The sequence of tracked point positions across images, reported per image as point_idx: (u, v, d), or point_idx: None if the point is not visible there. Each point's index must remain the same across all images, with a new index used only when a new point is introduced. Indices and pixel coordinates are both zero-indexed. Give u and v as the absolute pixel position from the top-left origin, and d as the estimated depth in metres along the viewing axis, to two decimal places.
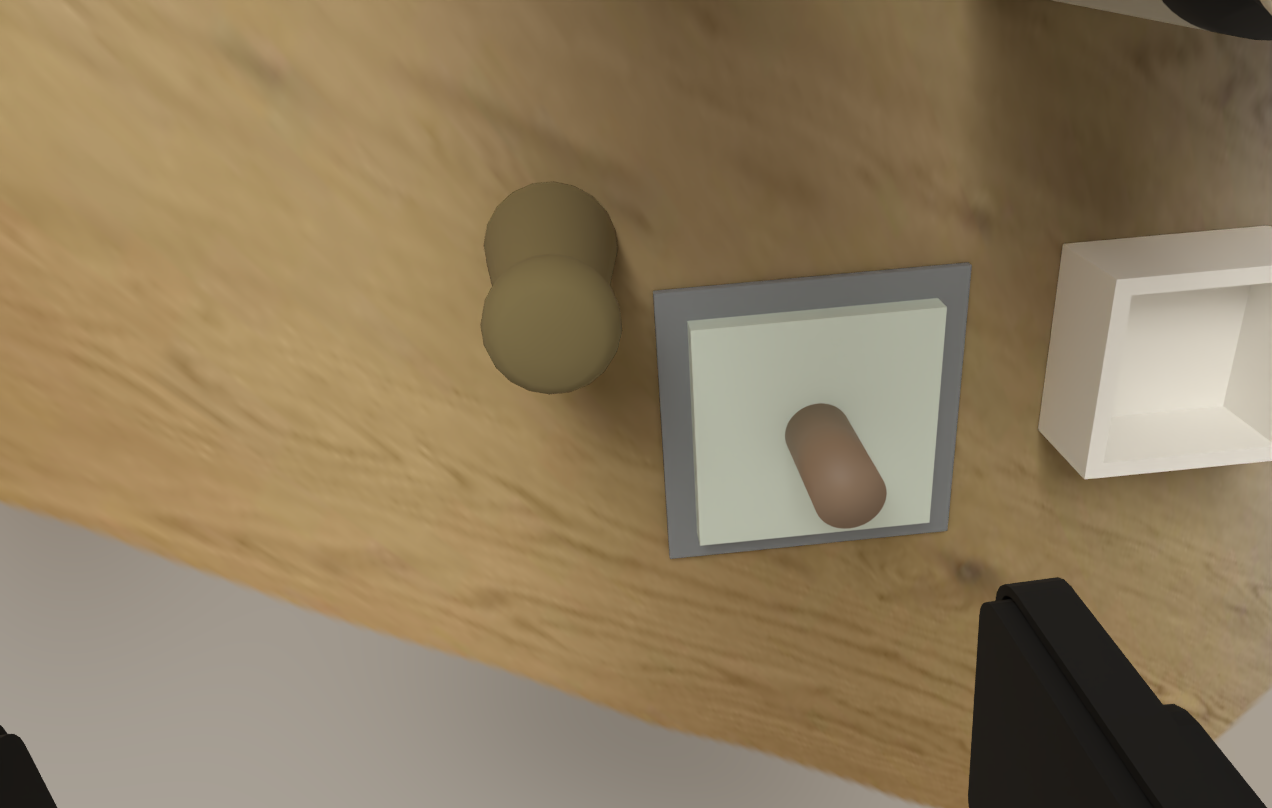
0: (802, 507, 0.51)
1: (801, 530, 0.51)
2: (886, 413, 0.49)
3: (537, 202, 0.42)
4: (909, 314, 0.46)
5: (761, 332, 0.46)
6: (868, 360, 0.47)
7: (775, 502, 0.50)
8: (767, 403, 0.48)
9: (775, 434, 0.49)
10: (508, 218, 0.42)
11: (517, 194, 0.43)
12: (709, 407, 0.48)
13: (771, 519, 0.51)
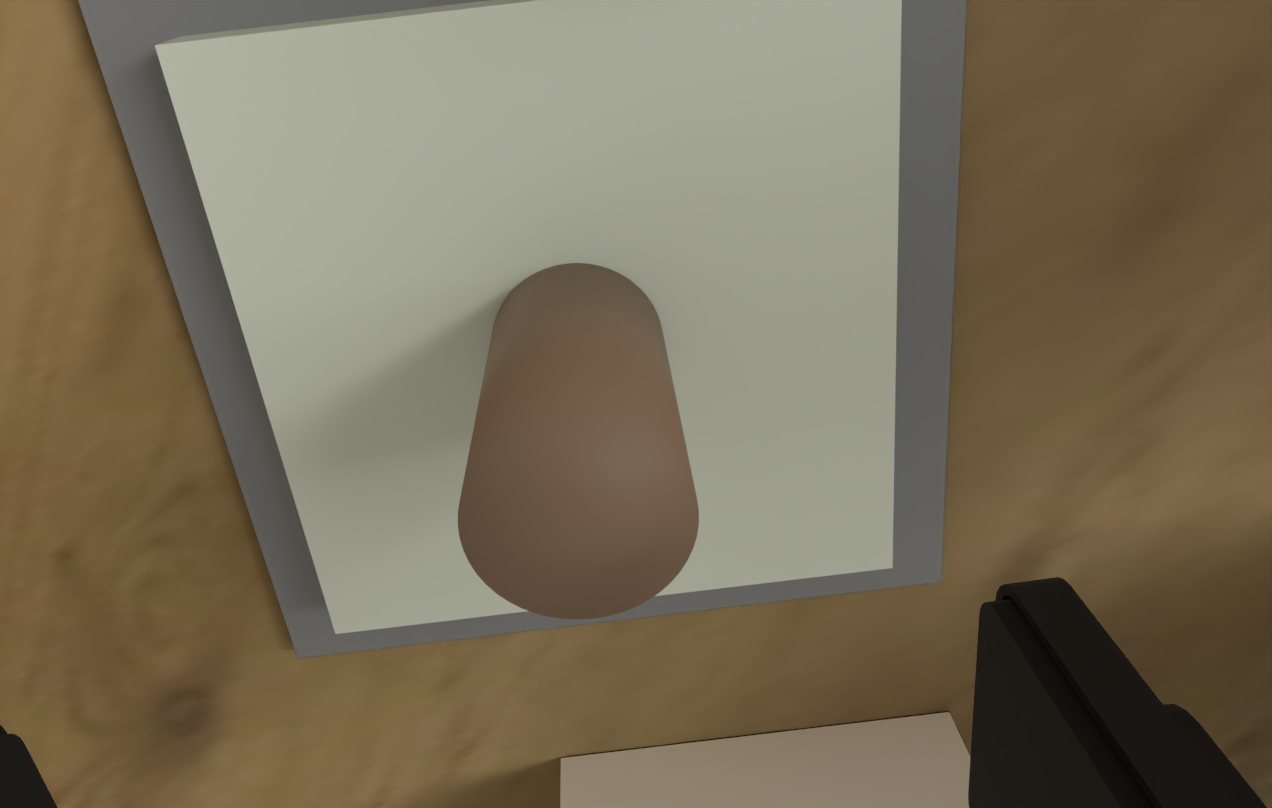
0: (341, 338, 0.18)
1: (265, 343, 0.18)
2: None
3: None
4: (884, 499, 0.20)
5: (875, 165, 0.17)
6: (776, 434, 0.20)
7: (348, 263, 0.18)
8: (666, 205, 0.17)
9: (567, 238, 0.18)
10: None
11: None
12: (653, 38, 0.16)
13: (288, 259, 0.18)
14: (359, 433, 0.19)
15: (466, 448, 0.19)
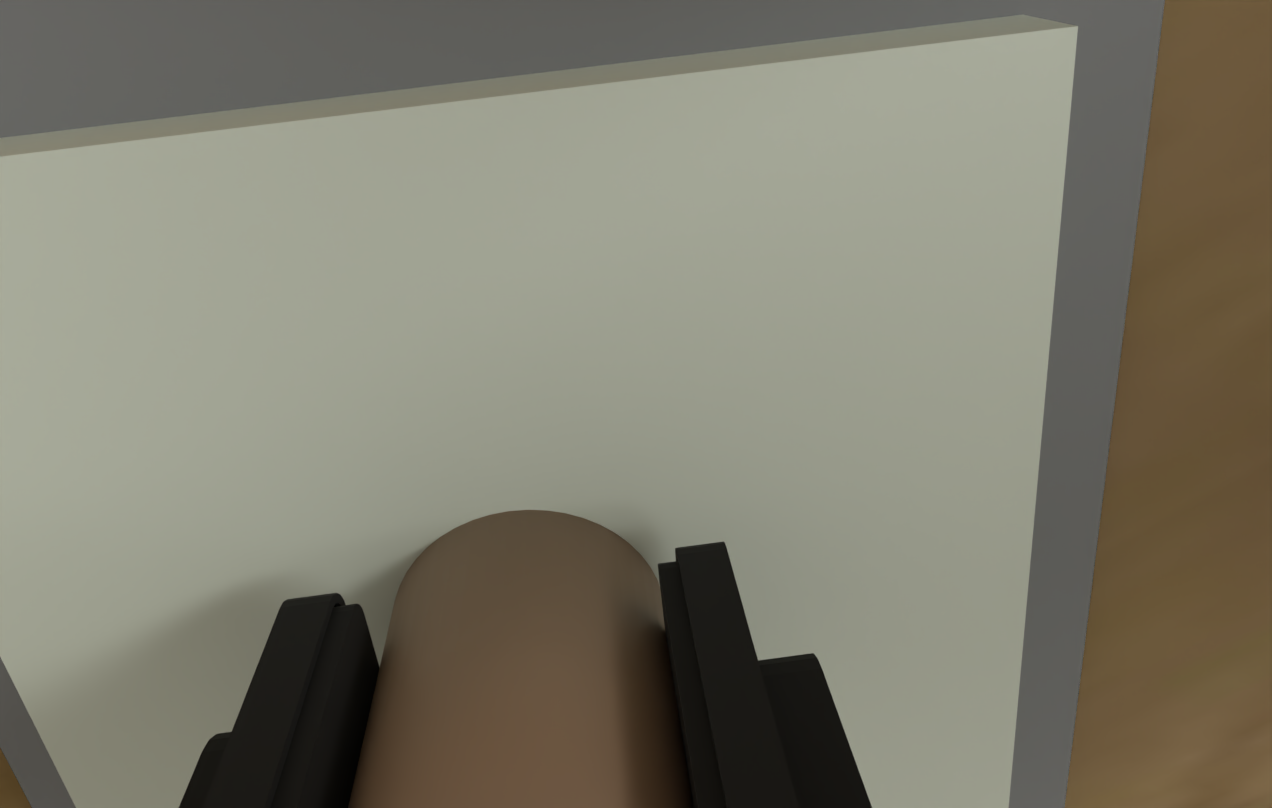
0: (147, 627, 0.11)
1: (22, 639, 0.11)
2: None
3: None
4: None
5: (1011, 356, 0.11)
6: None
7: (149, 520, 0.11)
8: (670, 423, 0.11)
9: (510, 474, 0.11)
10: None
11: None
12: (649, 162, 0.09)
13: (46, 517, 0.11)
14: (190, 756, 0.12)
15: None
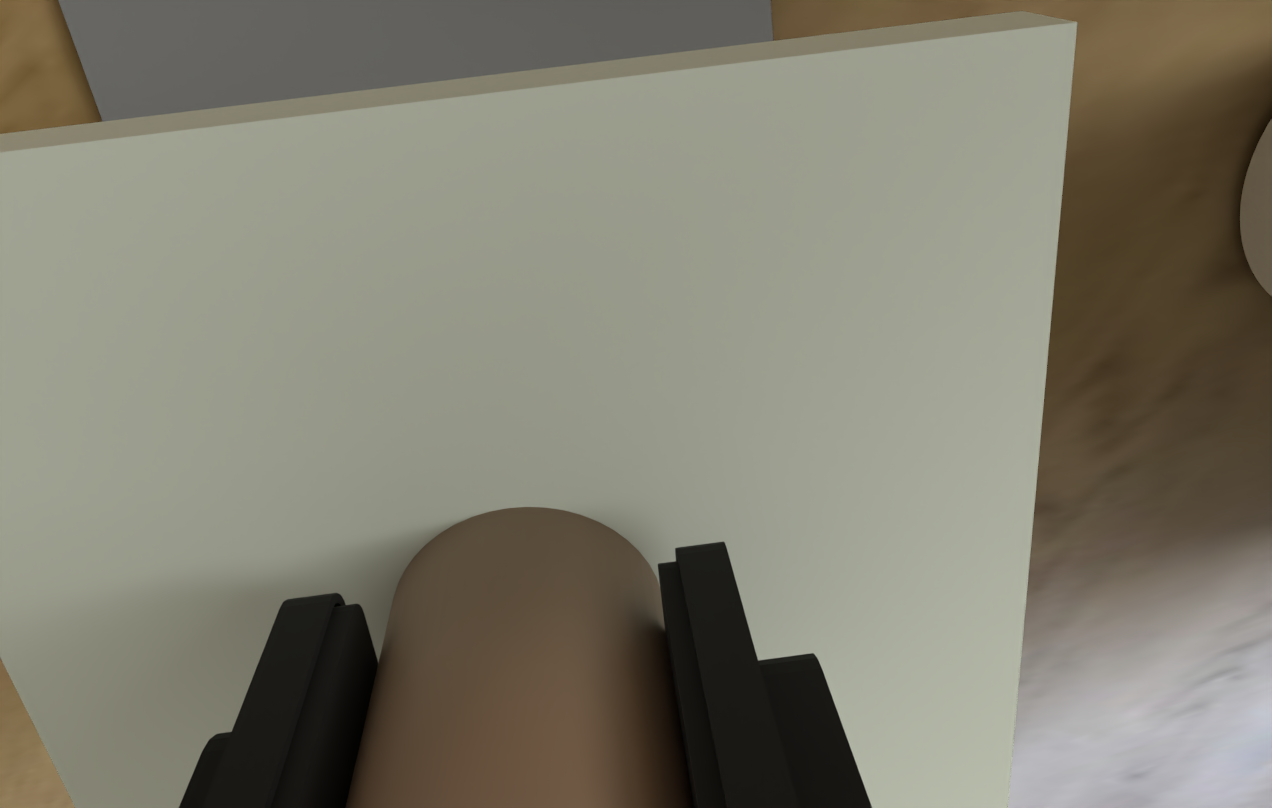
0: (146, 624, 0.11)
1: (22, 637, 0.11)
2: None
3: None
4: None
5: (1010, 352, 0.11)
6: None
7: (147, 517, 0.11)
8: (669, 419, 0.11)
9: (509, 471, 0.11)
10: None
11: None
12: (647, 157, 0.09)
13: (45, 514, 0.11)
14: (189, 754, 0.12)
15: None
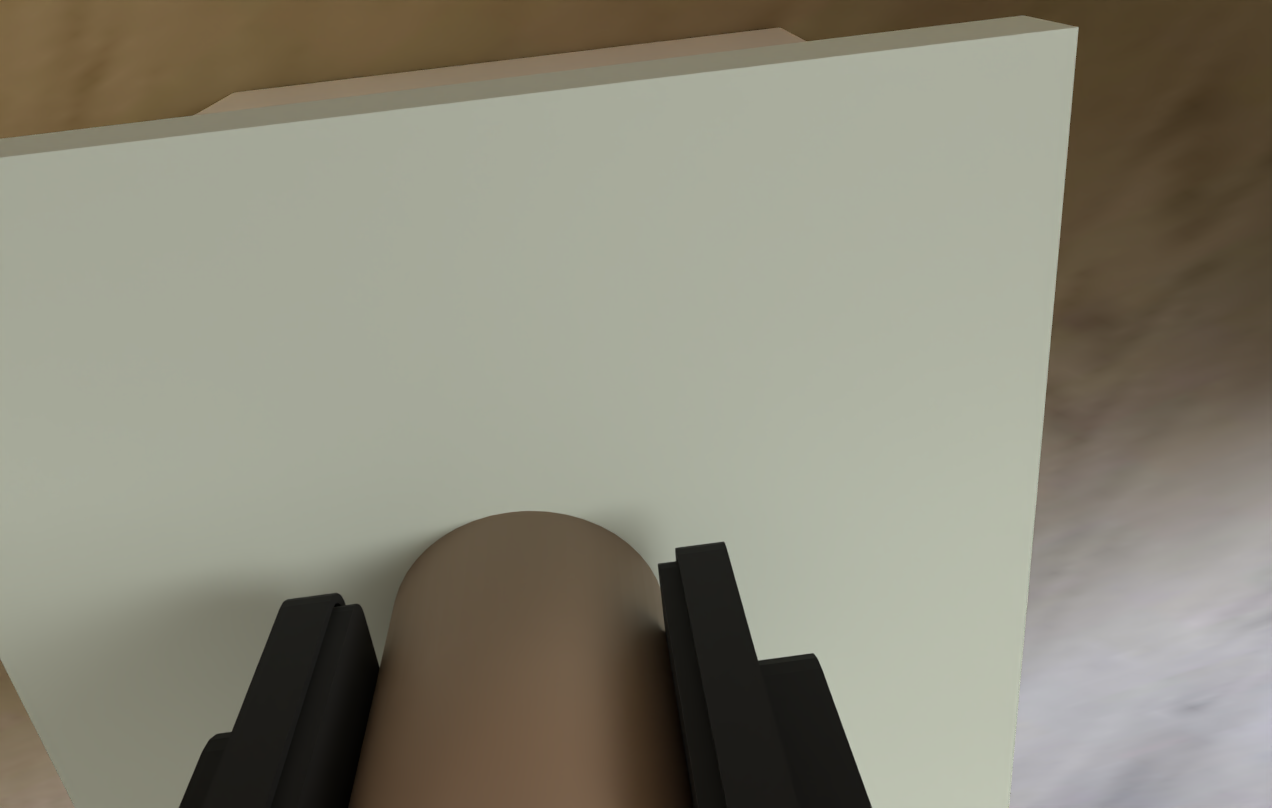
0: (147, 628, 0.11)
1: (23, 640, 0.11)
2: None
3: None
4: None
5: (1011, 357, 0.11)
6: None
7: (148, 521, 0.11)
8: (670, 423, 0.11)
9: (510, 475, 0.11)
10: None
11: None
12: (649, 163, 0.09)
13: (46, 517, 0.11)
14: (190, 757, 0.12)
15: None
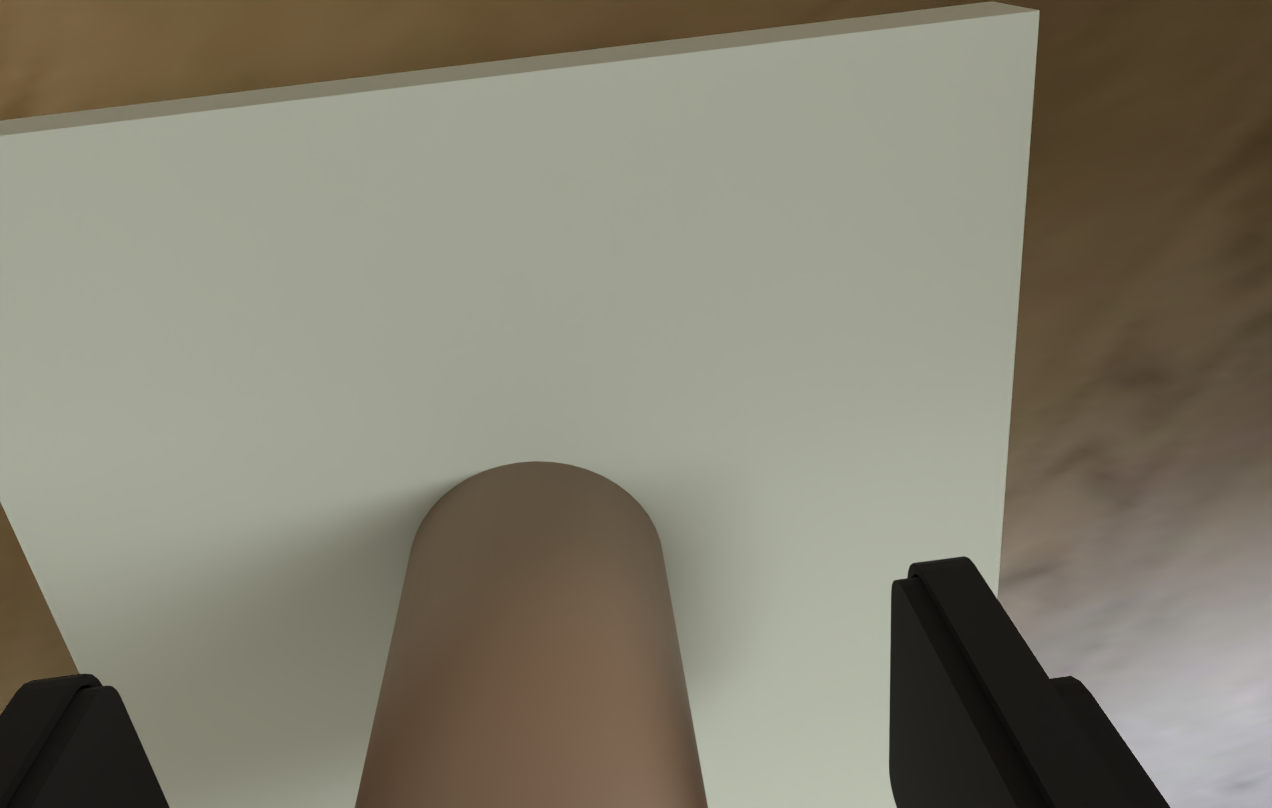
0: (182, 571, 0.12)
1: (66, 582, 0.12)
2: None
3: None
4: None
5: (982, 317, 0.12)
6: (825, 677, 0.14)
7: (185, 469, 0.12)
8: (667, 379, 0.12)
9: (520, 427, 0.12)
10: None
11: None
12: (647, 135, 0.10)
13: (91, 466, 0.11)
14: (219, 696, 0.13)
15: None
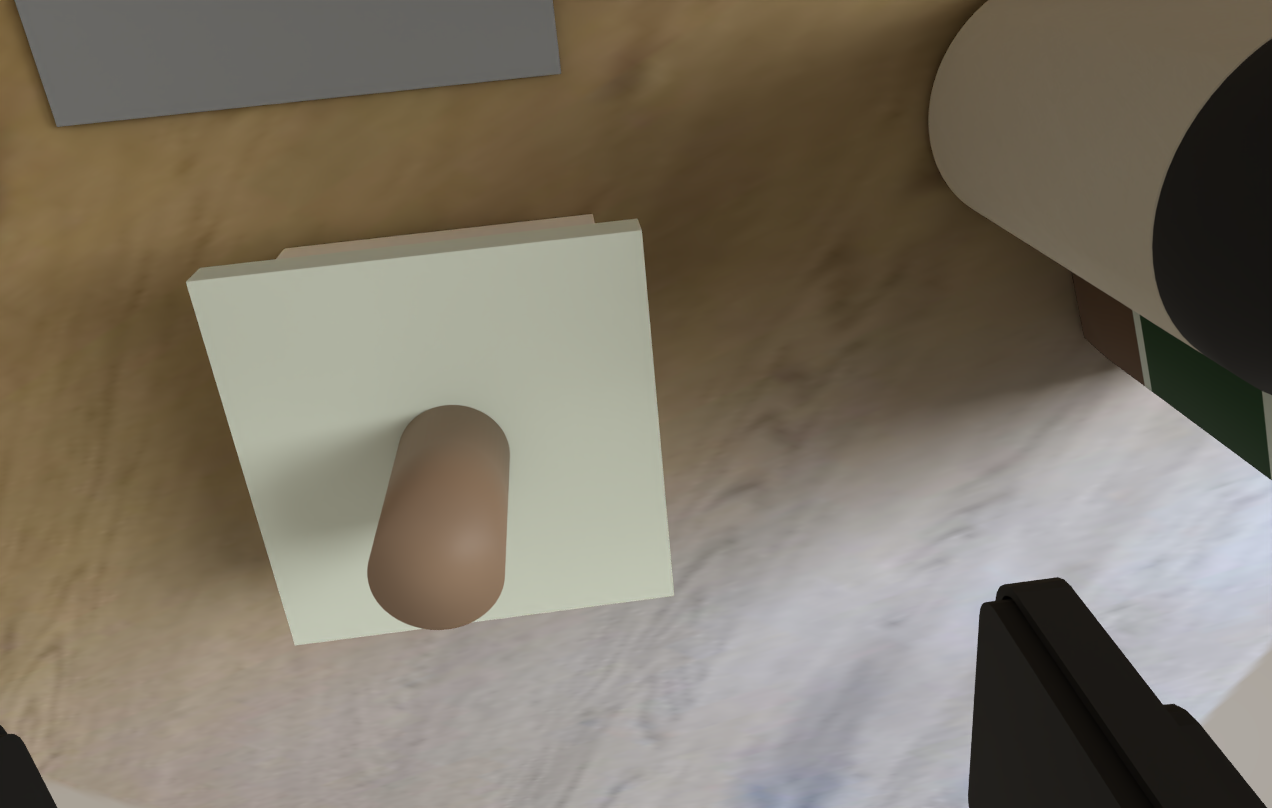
0: (300, 451, 0.28)
1: (250, 456, 0.28)
2: None
3: None
4: (664, 550, 0.31)
5: (637, 345, 0.28)
6: (588, 509, 0.30)
7: (305, 406, 0.28)
8: (506, 370, 0.28)
9: (445, 390, 0.28)
10: None
11: None
12: (493, 275, 0.27)
13: (266, 404, 0.28)
14: (312, 511, 0.29)
15: None
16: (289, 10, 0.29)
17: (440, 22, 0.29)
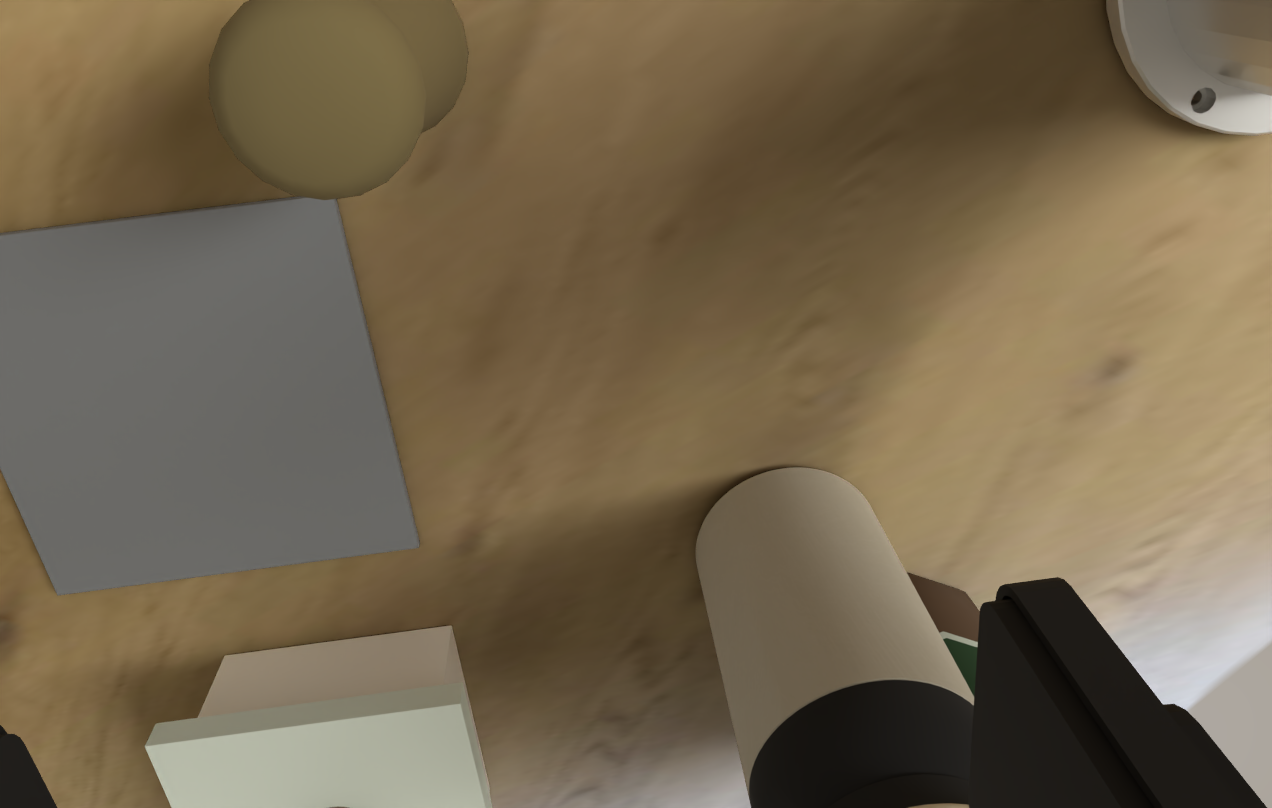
0: None
1: None
2: None
3: (450, 38, 0.31)
4: None
5: (465, 767, 0.39)
6: None
7: None
8: (373, 785, 0.39)
9: (330, 798, 0.40)
10: None
11: (448, 3, 0.32)
12: (358, 733, 0.38)
13: None
14: None
15: None
16: (219, 521, 0.40)
17: (328, 522, 0.41)
